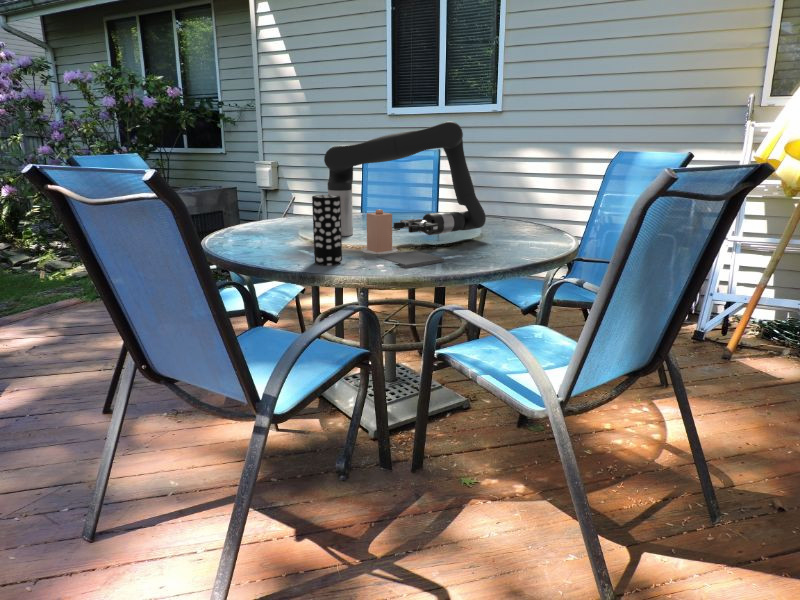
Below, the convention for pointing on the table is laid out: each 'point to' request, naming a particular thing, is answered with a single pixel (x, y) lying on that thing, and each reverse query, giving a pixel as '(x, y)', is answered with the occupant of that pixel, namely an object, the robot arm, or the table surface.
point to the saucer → (379, 252)
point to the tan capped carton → (379, 231)
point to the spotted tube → (327, 229)
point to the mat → (412, 258)
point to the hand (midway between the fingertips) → (401, 227)
